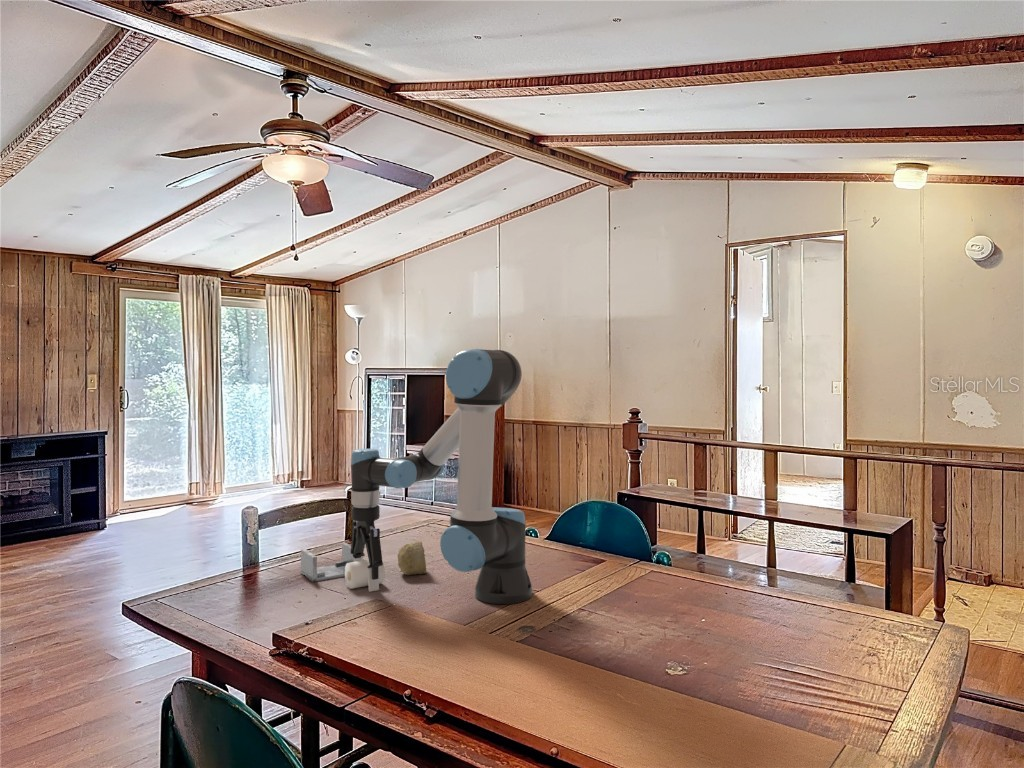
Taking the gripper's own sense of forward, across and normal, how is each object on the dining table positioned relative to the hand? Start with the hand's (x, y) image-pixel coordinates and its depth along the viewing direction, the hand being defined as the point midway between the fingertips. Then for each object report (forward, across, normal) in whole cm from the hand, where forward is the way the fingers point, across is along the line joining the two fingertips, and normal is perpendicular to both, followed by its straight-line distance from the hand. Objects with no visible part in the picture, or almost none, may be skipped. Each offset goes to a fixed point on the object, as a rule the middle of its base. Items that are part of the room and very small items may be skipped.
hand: (366, 585), depth 195 cm
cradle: (0, +18, +4) cm, 18 cm away
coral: (0, +4, -16) cm, 16 cm away
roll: (-3, +1, 0) cm, 3 cm away
